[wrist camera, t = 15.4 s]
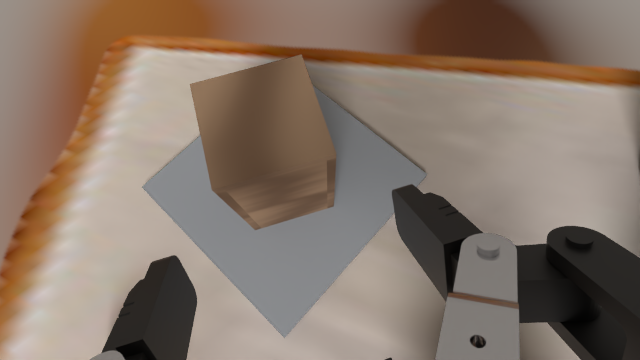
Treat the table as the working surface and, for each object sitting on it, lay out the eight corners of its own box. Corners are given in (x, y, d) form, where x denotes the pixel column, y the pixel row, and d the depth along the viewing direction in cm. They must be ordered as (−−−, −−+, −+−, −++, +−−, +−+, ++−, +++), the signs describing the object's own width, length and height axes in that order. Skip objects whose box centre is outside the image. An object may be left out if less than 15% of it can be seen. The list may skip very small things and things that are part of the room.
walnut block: (310, 137, 28) (301, 54, 18) (333, 206, 26) (336, 153, 16) (237, 157, 27) (189, 84, 18) (255, 230, 25) (211, 190, 16)
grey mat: (284, 65, 31) (283, 62, 30) (425, 176, 27) (427, 174, 27) (144, 188, 27) (141, 187, 27) (285, 337, 23) (284, 337, 23)
